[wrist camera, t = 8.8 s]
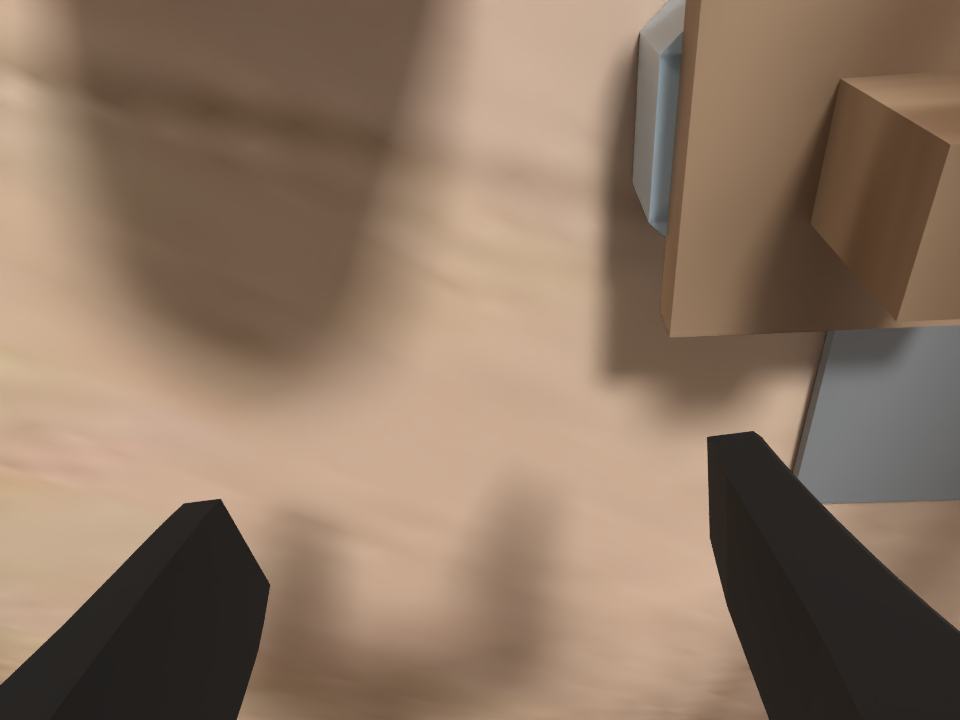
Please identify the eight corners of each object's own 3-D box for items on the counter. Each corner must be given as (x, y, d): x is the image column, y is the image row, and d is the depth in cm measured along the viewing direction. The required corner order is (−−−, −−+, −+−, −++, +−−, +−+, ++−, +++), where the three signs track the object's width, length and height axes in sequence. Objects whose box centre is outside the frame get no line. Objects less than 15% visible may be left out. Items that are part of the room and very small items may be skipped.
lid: (1178, -124, 12) (1543, -127, 8) (1010, 294, 16) (1181, 435, 12) (692, -83, 12) (785, -64, 8) (660, 310, 17) (709, 451, 13)
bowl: (1083, -139, 14) (1185, -142, 12) (951, 254, 18) (1007, 301, 16) (646, -100, 14) (669, -97, 12) (627, 270, 19) (642, 317, 17)
